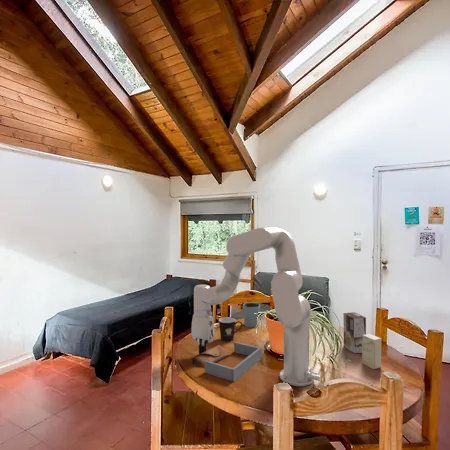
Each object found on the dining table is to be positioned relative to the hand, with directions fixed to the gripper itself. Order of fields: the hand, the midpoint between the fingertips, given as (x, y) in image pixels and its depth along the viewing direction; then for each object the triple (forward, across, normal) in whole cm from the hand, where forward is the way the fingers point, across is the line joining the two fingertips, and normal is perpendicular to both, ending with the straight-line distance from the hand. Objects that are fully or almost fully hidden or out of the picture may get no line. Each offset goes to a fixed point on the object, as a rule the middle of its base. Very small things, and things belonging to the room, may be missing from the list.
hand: (202, 353), depth 138 cm
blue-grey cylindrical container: (+1, +1, -49) cm, 49 cm away
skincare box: (+2, -66, -30) cm, 72 cm away
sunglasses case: (+2, -6, 0) cm, 6 cm away
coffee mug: (+1, 0, -23) cm, 23 cm away
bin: (+1, -16, 0) cm, 17 cm away
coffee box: (+2, -56, -44) cm, 72 cm away
